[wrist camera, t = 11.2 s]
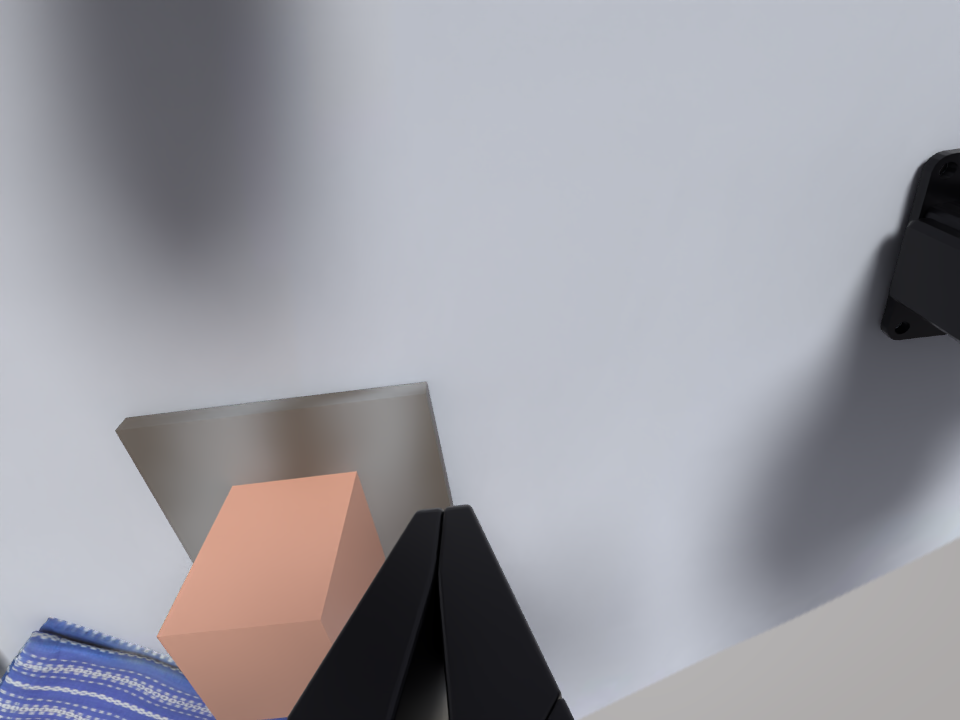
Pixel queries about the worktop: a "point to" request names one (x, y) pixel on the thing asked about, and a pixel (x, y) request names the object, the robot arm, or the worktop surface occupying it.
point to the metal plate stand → (293, 454)
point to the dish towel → (95, 680)
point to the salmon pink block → (272, 592)
